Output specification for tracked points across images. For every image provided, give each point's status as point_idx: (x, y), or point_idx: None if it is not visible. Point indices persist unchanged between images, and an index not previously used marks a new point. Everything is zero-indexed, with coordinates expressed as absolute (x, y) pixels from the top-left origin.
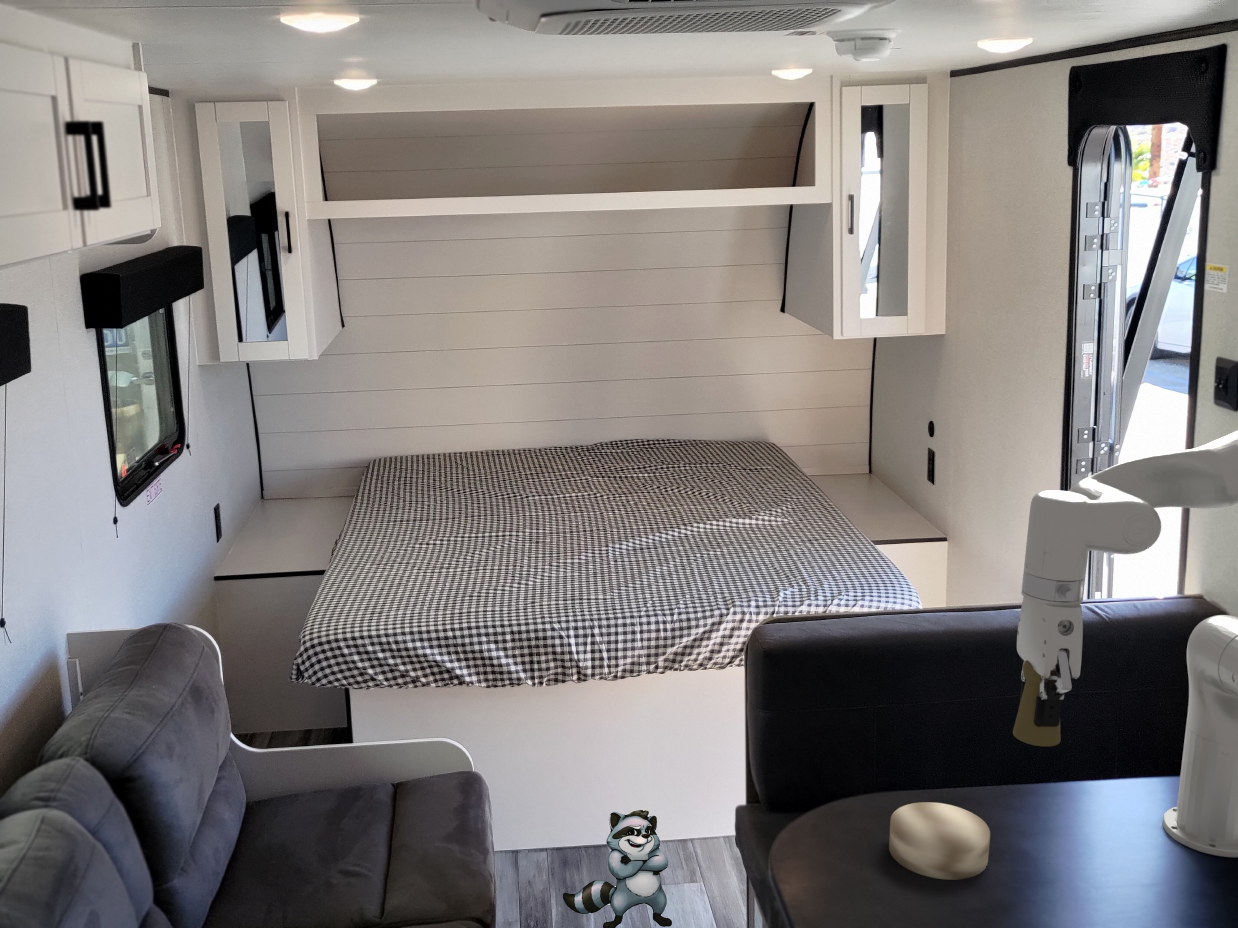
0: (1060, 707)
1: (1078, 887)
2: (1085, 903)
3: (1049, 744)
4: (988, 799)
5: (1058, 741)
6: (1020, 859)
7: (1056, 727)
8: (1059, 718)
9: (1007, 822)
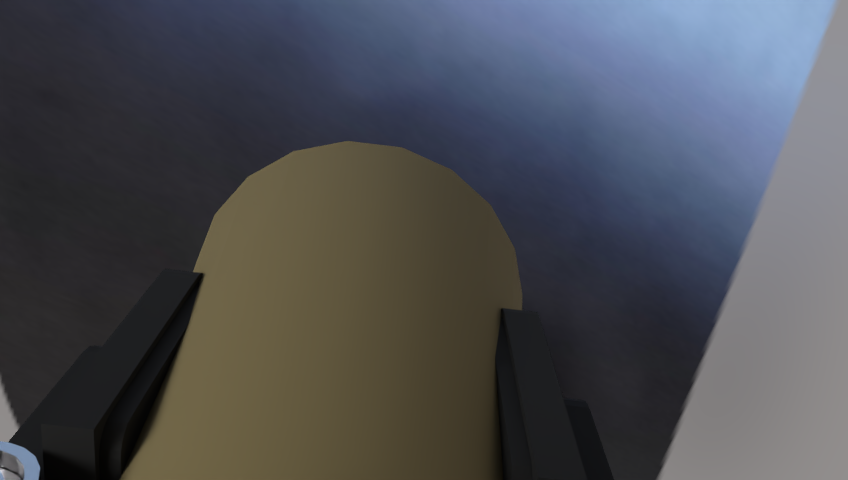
0: (563, 410)
1: (638, 47)
2: (723, 77)
3: (521, 300)
4: (22, 51)
5: (494, 219)
6: (440, 148)
7: (504, 296)
8: (545, 342)
9: (198, 67)
